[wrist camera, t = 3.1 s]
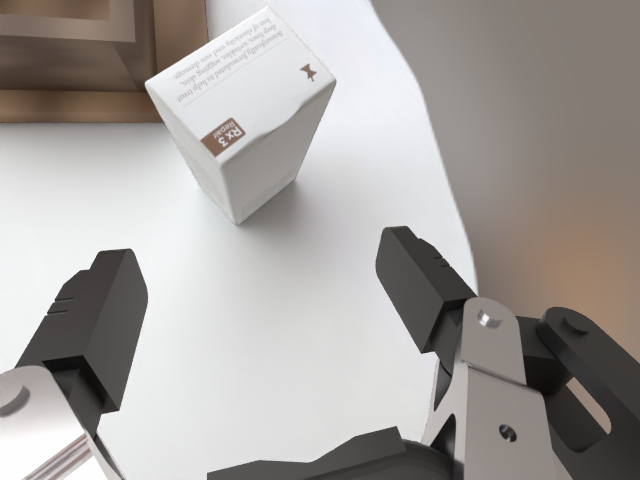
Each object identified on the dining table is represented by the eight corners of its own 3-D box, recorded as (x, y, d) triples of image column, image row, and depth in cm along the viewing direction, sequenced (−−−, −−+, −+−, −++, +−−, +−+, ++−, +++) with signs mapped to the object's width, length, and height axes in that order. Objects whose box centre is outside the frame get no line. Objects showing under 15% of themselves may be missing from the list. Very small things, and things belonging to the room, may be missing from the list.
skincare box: (259, 138, 24) (268, -11, 12) (298, 181, 24) (345, 75, 12) (194, 187, 22) (131, 70, 10) (237, 233, 22) (222, 169, 11)
